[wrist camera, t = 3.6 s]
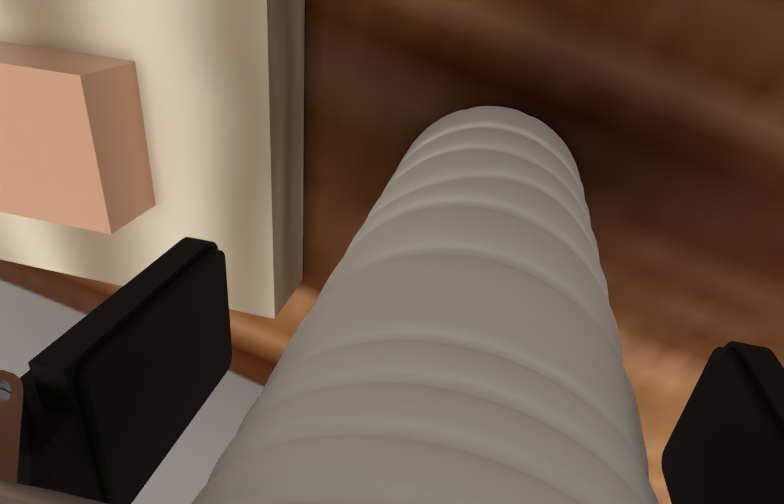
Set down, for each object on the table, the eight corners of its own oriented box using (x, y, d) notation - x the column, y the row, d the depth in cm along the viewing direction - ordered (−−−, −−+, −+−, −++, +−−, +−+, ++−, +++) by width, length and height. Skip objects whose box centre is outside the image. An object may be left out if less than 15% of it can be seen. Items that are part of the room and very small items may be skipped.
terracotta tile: (134, 61, 17) (80, 75, 15) (155, 205, 19) (111, 234, 17) (-3, 40, 17) (-73, 52, 15) (34, 182, 20) (-22, 207, 18)
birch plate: (305, -69, 17) (264, -74, 14) (302, 278, 23) (274, 318, 21) (-72, -107, 19) (-167, -118, 16) (22, 222, 25) (-35, 251, 23)
